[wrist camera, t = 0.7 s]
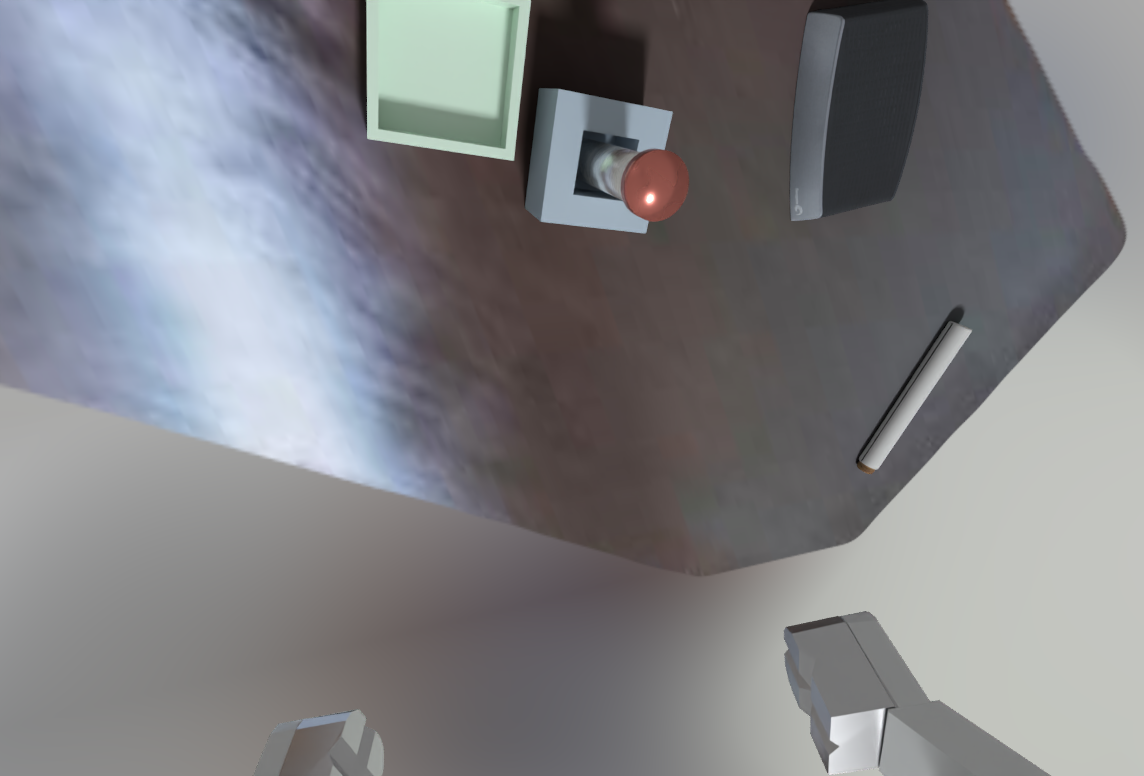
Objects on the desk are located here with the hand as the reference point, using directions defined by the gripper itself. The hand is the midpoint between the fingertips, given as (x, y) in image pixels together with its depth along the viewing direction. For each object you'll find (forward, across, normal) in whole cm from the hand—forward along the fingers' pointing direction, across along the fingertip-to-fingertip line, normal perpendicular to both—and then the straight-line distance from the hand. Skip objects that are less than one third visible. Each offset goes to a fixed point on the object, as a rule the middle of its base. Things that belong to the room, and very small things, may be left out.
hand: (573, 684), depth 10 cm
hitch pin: (+47, -5, -3) cm, 47 cm away
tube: (+61, -46, +42) cm, 87 cm away
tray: (+45, +5, -12) cm, 47 cm away
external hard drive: (+55, -33, 0) cm, 64 cm away
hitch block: (+48, -5, -3) cm, 48 cm away
